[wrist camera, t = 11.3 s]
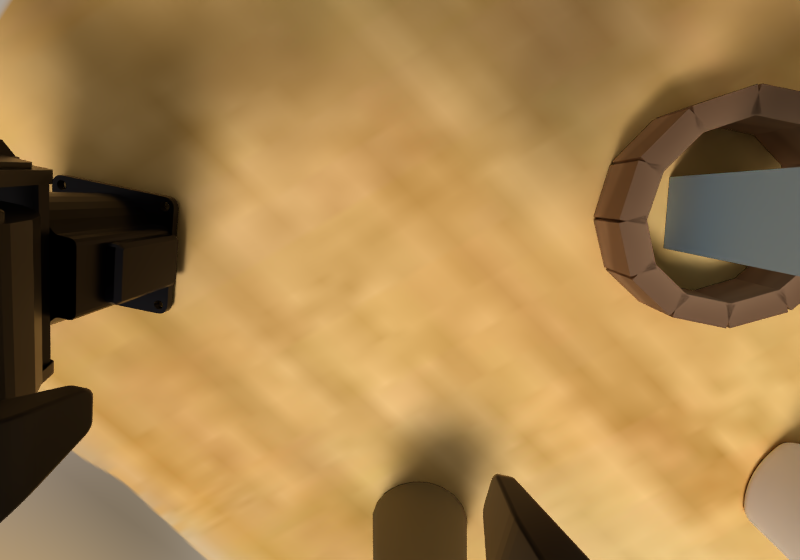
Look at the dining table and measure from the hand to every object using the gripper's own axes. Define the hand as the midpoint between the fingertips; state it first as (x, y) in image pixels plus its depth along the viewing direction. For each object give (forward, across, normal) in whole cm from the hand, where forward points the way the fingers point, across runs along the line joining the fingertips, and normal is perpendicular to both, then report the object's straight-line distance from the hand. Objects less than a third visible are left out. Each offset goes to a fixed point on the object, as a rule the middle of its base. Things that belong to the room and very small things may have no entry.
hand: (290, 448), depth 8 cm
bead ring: (+13, -16, -8) cm, 22 cm away
